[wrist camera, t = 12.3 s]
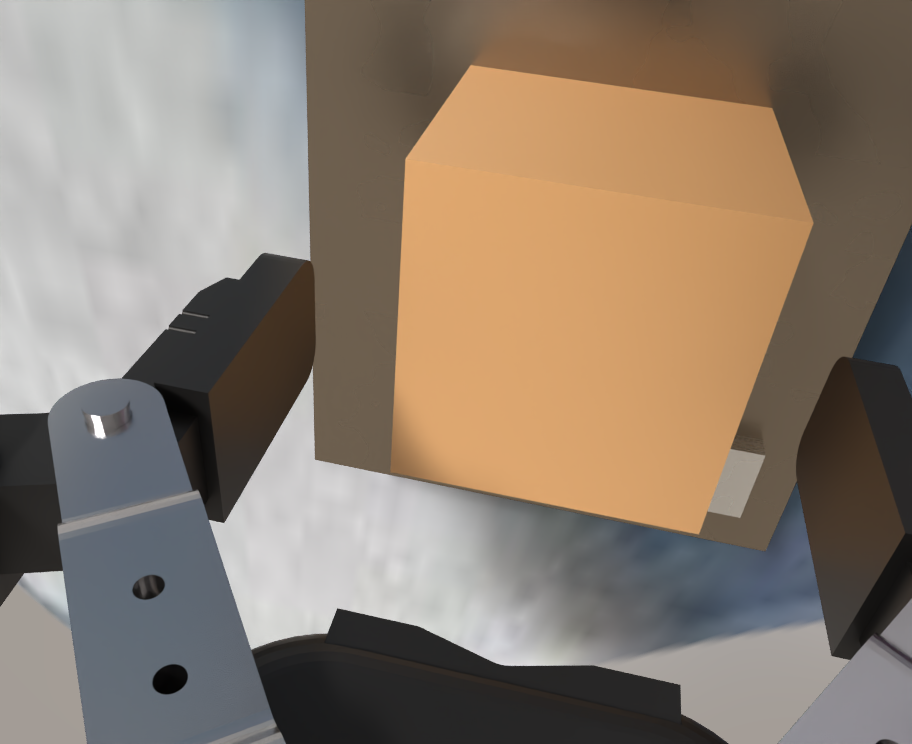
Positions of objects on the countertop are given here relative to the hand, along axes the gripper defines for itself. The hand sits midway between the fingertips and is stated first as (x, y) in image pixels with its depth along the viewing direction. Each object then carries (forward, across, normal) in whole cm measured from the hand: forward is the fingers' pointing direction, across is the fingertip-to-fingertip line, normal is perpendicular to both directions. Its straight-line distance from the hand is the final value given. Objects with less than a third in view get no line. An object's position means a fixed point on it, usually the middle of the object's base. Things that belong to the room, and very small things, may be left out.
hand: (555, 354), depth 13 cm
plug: (+8, 0, 0) cm, 8 cm away
